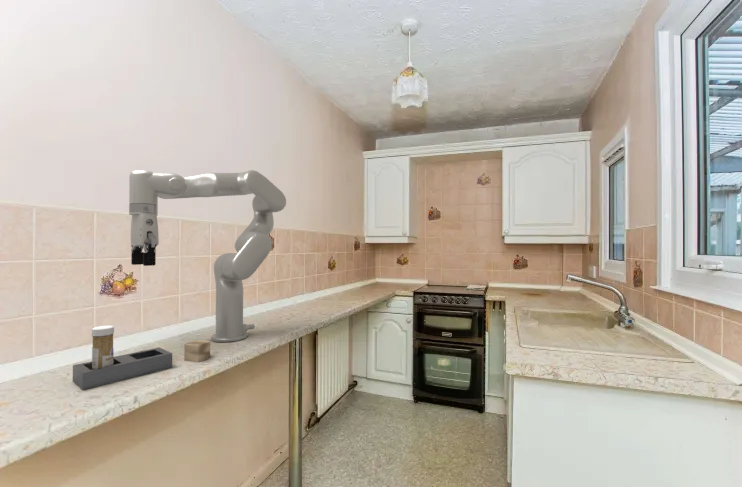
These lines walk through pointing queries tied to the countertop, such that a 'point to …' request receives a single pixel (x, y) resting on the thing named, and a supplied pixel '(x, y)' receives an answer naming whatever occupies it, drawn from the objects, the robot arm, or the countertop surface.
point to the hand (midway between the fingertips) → (143, 265)
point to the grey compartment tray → (122, 368)
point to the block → (197, 351)
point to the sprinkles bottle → (102, 346)
